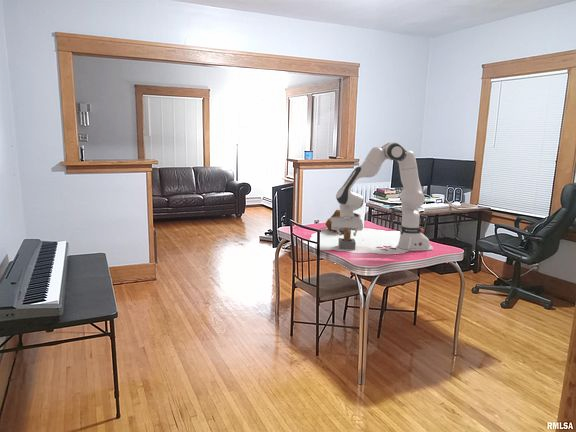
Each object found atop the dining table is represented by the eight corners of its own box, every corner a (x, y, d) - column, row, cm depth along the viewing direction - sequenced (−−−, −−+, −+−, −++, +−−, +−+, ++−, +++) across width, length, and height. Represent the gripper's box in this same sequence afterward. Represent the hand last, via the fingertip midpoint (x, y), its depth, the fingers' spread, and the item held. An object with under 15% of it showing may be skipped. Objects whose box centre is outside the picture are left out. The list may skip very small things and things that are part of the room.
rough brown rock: (323, 228, 341) (322, 209, 337) (343, 226, 342) (343, 208, 339) (329, 236, 318) (328, 216, 315) (351, 234, 320) (350, 214, 316)
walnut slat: (349, 247, 277) (350, 229, 274) (350, 248, 274) (350, 230, 271) (343, 246, 277) (344, 228, 275) (343, 248, 274) (344, 229, 272)
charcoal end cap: (353, 246, 280) (354, 238, 279) (355, 249, 271) (355, 242, 270) (338, 245, 280) (338, 238, 279) (339, 249, 271) (339, 241, 270)
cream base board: (368, 248, 280) (369, 246, 280) (371, 253, 270) (371, 250, 269) (338, 247, 281) (338, 245, 281) (339, 252, 270) (339, 249, 270)
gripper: (331, 214, 279) (331, 232, 271) (362, 214, 278) (363, 233, 270) (330, 219, 284) (330, 237, 276) (361, 220, 283) (362, 238, 275)
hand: (347, 235), depth 273 cm, fingers open, 8 cm apart
